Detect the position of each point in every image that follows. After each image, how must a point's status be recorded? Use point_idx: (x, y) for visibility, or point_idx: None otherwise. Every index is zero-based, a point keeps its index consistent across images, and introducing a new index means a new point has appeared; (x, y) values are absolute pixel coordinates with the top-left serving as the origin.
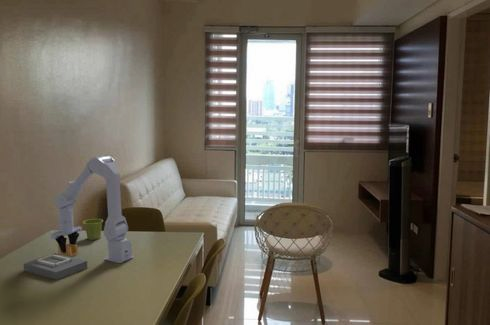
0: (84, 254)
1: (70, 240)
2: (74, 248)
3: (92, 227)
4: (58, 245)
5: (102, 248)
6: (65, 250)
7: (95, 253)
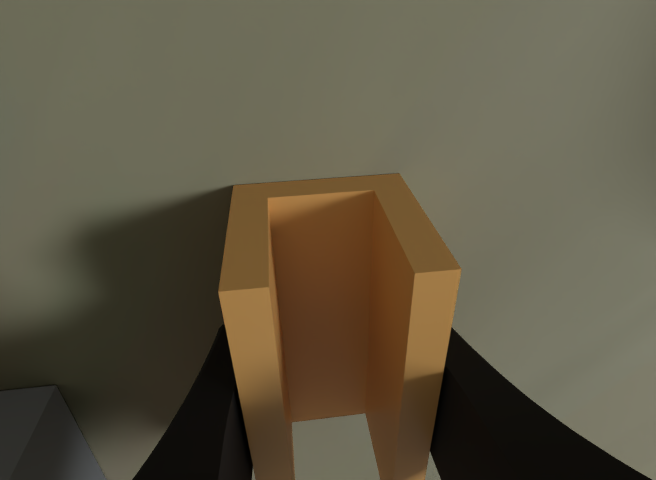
0: None
1: (476, 459)
2: (378, 445)
3: None
4: (224, 308)
5: (641, 412)
6: None
7: None
